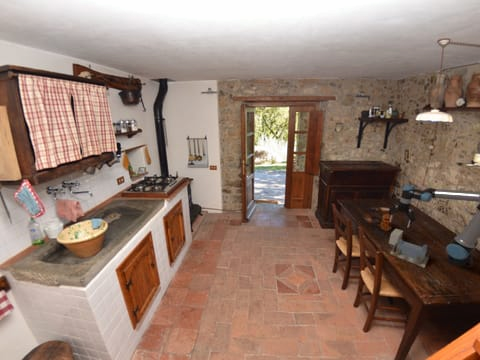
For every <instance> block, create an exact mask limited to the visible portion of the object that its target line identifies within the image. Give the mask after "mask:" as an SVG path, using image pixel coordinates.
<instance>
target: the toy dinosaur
mask: <svg viewBox="0 0 480 360" xmlns="http://www.w3.org/2000/svg"><path fill="white" fill-rule="evenodd" d="M389 216H390V214H389V213H384V214H383V215H382V217H381V220H382V221H381V222H380V224H379V227H380V229H381V230H382V229H383V230H382V231H385V232H388V231H390V230H392V226H391V225H392V223H393V222H394V216H392V220H391V222H390V218H389Z"/></svg>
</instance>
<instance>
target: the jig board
mask: <svg viewBox="0 0 480 360" xmlns="http://www.w3.org/2000/svg"><path fill="white" fill-rule="evenodd" d="M397 246H398V243H396V244H395V245H392V248H391V251H390V252H389V254H390V255H392V256H393V257H394V256H395V257H396V258H398V259H399V258H400V259H402V260H405V261H407V262H410V263H411V264H413V265H416V266H419V267H421V268H422V269H423V268H424V269H425V268H426V265H427V264H428V261H429V259H430V254H427V253H426V255H425V257H424V261H423V262H421V259H422V257H419V256H418V257H417V260H416V259H413V258H410V257H407V256H404V255H401V254H399V253H400V250H401V249H399V248H397Z"/></svg>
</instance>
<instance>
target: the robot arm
mask: <svg viewBox="0 0 480 360" xmlns="http://www.w3.org/2000/svg"><path fill="white" fill-rule="evenodd" d="M412 199H415V200H419V201H421V202H426V203H429V202H431V201H432V199H442V200H452V201H465V202H466V201H467V202H477V203H478V204H477V206H476V210H477V211H476V213H475V214H474V215H473V216H472V217H471V219H470V220H469V222H468V223H467V225H466V226H465V227H464V228H463V230H462V231H461V232H460V233H458V234H457V235H455V236H454V238H453V239H452V240H451V242H450V243H449V244H448V245H447V246H446V248H445V251H446V253H447V254H446V256H445V259H446V260H447V261H448V262H450V263H451V264H453V265H455V266H457V267H460V268H464V269H470V268H473V265H474V262H473V255H474V253H475V250H476V249H477V246H478V244H479V241H478V240H479V238H480V191H478V190H477V191H474V190H458V189H441V188H433V187H427V188H425V189H423V190H419V189H416V187H415V186H414V185H412V184H405V185H404V186H403V188H402V192H401V195H400V199H399V202H398V205H397V204H394V205H393V207H392V208H391V209H389V210H388V212H387V214H390V216H389V218H390V222H391V220H393V219H392V216H393V215H394V214H395V213H398V212H400V213H404V214H406V215H407V218H408V219H409V221H408V223H407V228H409V227H411V226H410V225H412V224H413V222H416V221H417V220H416V217H415V213H414V209H410V206H411V203H412ZM396 208H397V209H396ZM394 209H396V210H394ZM393 210H394V211H393ZM409 212H410V213H409ZM393 217H394V216H393Z"/></svg>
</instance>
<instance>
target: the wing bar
mask: <svg viewBox="0 0 480 360" xmlns="http://www.w3.org/2000/svg"><path fill="white" fill-rule="evenodd" d="M403 233H404V230H401V229H398V228H395V229H394V230H392V232H391V233H390V236H389V242H388V244H390V245H392V246H394V245H395V244H396V243H398V242H399V239H402V238H403Z"/></svg>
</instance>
